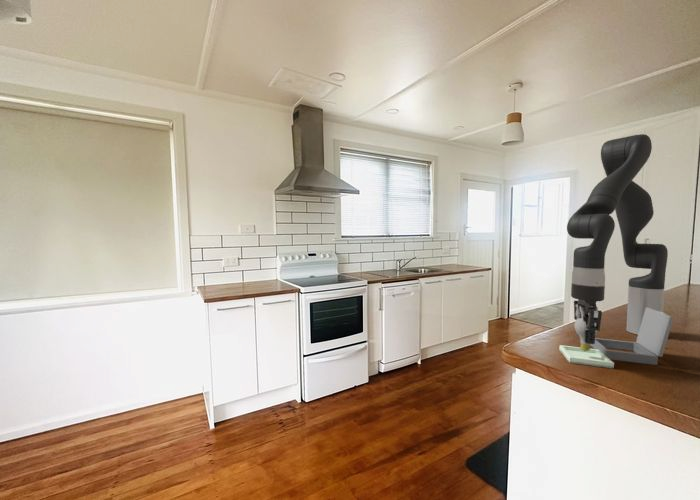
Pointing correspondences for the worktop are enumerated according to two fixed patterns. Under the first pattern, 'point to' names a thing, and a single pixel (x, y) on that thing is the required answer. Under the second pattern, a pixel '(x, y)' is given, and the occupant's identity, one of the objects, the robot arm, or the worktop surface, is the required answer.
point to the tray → (586, 357)
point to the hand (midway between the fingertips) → (585, 339)
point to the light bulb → (582, 334)
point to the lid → (654, 331)
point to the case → (638, 357)
